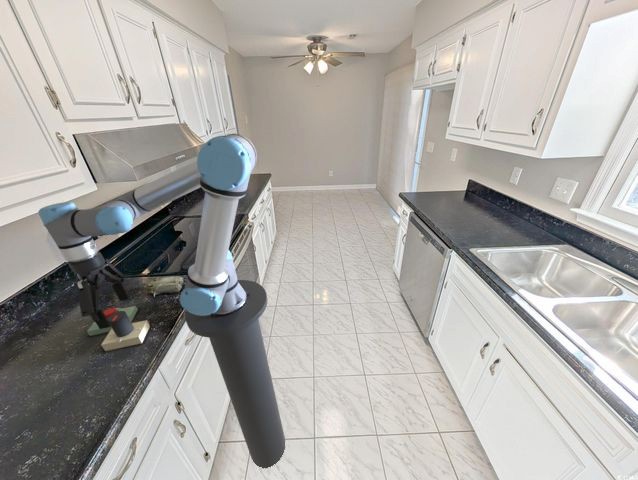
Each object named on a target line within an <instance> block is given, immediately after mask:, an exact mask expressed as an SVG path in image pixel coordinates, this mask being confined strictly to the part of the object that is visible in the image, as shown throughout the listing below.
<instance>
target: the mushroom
mask: <svg viewBox="0 0 638 480" xmlns="http://www.w3.org/2000/svg"><path fill="white" fill-rule="evenodd" d="M183 285H184V278H183V277H181V276H179V275H178V276H177V275H176V276H165V277H161V278H158V279H157V278H153V281H151V280H150V281H149V282H148V283H147V287H146V288H145V291H146V293H149V294H152V295H153V297H154V298H155V297H156V295H162V294H165V293H167V294H172V293H178V292H180V291H181V289H183V288H182V287H183Z"/></svg>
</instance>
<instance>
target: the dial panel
mask: <svg viewBox="0 0 638 480" xmlns="http://www.w3.org/2000/svg"><path fill="white" fill-rule="evenodd" d="M131 323H132V325H133V327H134V329H133V331H132V332H131V333H130V334H128V335H127V336H124V337H117V336H116V334H115V333H114V331H113V329H111V331H110V332H108V333H107V335H106V337H105V338H104V339H103V340H102V343H101V344H100V345H101V347H102V349H103V350H104V351H105V352H109V351H112V350H117V349H122V348H126V347H131V346H136V345H139V344H141V345H142V344H143V342H144V340H145V338H146V336H147V334H148V332H149V330H150V328H151V325H150V323H149V320H147V319H146V320H141V321H135V322H131Z"/></svg>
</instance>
